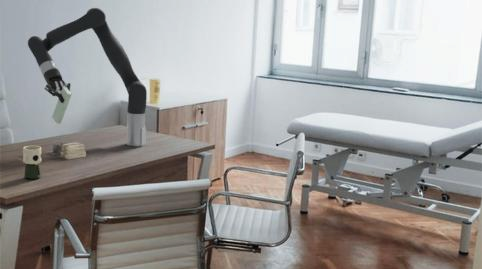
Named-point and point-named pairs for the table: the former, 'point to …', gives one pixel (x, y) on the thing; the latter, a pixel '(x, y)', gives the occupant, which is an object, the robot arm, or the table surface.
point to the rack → (68, 150)
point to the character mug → (32, 161)
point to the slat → (61, 106)
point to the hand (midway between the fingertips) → (65, 101)
